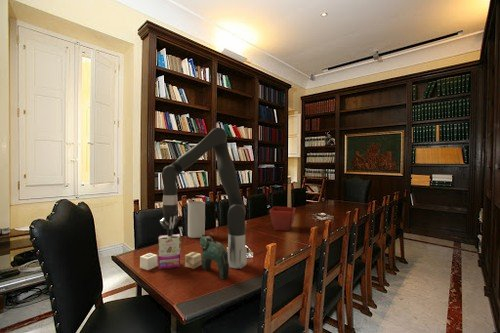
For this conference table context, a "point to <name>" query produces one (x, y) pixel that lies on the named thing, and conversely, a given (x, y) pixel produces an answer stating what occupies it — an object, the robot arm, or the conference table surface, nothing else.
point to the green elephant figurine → (214, 255)
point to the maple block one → (192, 260)
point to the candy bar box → (169, 251)
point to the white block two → (148, 261)
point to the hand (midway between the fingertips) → (169, 235)
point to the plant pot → (282, 218)
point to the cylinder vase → (196, 219)
